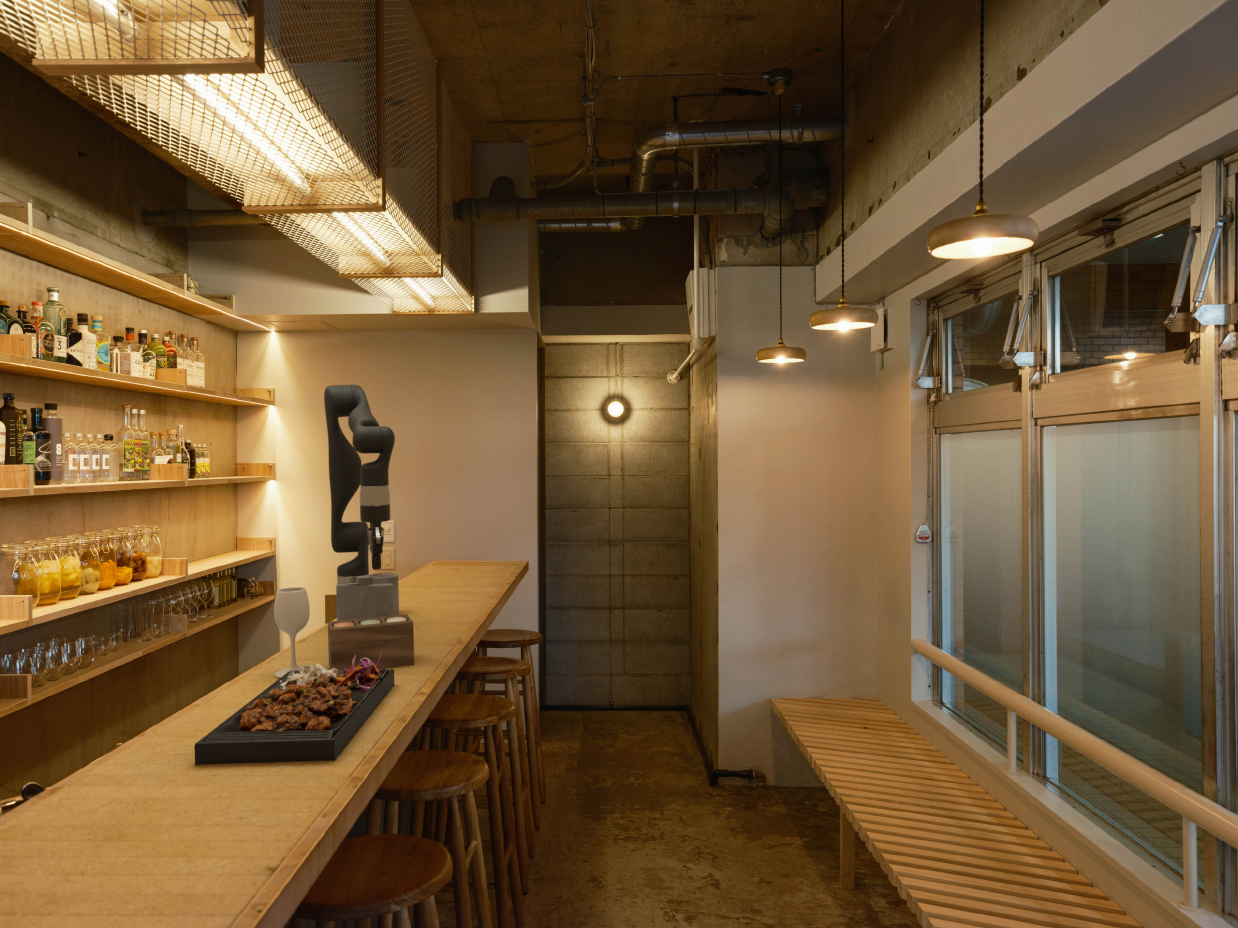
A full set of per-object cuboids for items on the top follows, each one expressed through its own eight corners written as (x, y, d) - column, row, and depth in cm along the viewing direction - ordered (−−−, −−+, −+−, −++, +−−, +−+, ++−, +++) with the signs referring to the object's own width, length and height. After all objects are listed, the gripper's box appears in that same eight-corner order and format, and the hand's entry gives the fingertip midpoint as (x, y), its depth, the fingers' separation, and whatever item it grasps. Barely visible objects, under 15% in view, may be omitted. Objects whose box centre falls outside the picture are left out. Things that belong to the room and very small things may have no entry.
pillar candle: (367, 614, 268) (365, 570, 267) (396, 611, 272) (395, 567, 271) (371, 620, 259) (370, 574, 258) (401, 617, 263) (400, 571, 262)
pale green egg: (359, 634, 207) (359, 620, 207) (379, 632, 209) (378, 618, 209) (361, 638, 203) (361, 624, 203) (381, 636, 205) (381, 622, 205)
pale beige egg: (385, 631, 210) (385, 618, 210) (404, 629, 212) (404, 616, 212) (388, 635, 206) (387, 621, 206) (407, 633, 208) (407, 619, 207)
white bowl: (266, 675, 197) (264, 591, 197) (295, 666, 205) (293, 585, 204) (291, 680, 193) (289, 593, 193) (319, 670, 201) (317, 587, 200)
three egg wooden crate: (328, 663, 208) (327, 621, 207) (407, 654, 215) (406, 614, 215) (331, 674, 197) (330, 630, 197) (414, 664, 205) (413, 622, 205)
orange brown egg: (333, 636, 205) (333, 623, 205) (353, 634, 207) (352, 621, 207) (334, 640, 200) (334, 626, 200) (354, 638, 202) (354, 625, 202)
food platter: (288, 690, 187) (287, 646, 187) (394, 687, 189) (393, 644, 188) (195, 768, 143) (193, 710, 142) (335, 764, 144) (333, 707, 143)
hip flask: (395, 645, 226) (394, 574, 226) (391, 648, 222) (389, 576, 222) (340, 645, 227) (338, 574, 226) (334, 648, 223) (332, 577, 222)
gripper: (357, 501, 213) (359, 566, 214) (362, 505, 201) (363, 574, 202) (386, 500, 216) (388, 563, 217) (393, 504, 204) (394, 572, 205)
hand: (376, 568), depth 210 cm, fingers closed
